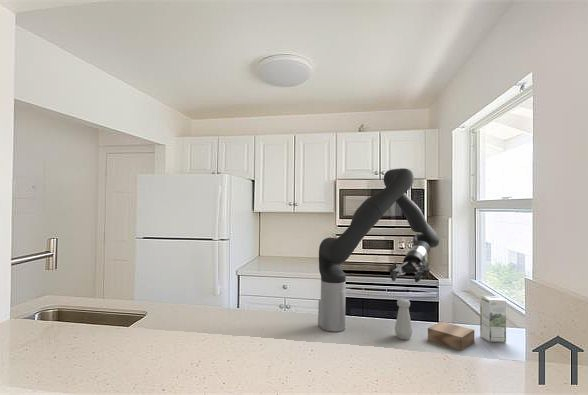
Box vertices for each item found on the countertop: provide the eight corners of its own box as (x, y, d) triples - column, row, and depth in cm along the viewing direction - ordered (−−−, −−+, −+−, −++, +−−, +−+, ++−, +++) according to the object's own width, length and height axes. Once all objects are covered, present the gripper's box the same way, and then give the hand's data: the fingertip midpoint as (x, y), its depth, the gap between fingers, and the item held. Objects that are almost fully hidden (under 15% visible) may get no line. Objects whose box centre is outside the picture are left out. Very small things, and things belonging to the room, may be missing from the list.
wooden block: (427, 340, 109) (427, 328, 109) (441, 332, 116) (441, 321, 117) (462, 350, 101) (461, 337, 101) (474, 341, 108) (474, 329, 108)
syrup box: (496, 336, 114) (495, 295, 114) (506, 343, 108) (506, 299, 108) (480, 336, 114) (479, 294, 115) (489, 342, 108) (489, 299, 109)
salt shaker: (413, 341, 107) (413, 302, 108) (395, 339, 108) (396, 300, 109) (410, 335, 113) (410, 298, 114) (394, 333, 114) (394, 296, 115)
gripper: (396, 250, 133) (383, 269, 121) (432, 249, 124) (421, 271, 112) (400, 266, 135) (387, 287, 122) (436, 266, 126) (426, 289, 113)
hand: (404, 279), depth 117 cm, fingers open, 8 cm apart
